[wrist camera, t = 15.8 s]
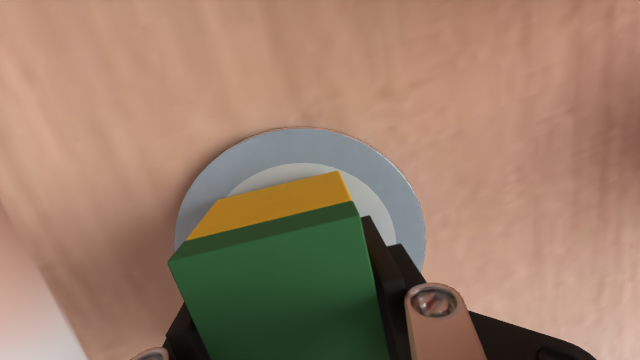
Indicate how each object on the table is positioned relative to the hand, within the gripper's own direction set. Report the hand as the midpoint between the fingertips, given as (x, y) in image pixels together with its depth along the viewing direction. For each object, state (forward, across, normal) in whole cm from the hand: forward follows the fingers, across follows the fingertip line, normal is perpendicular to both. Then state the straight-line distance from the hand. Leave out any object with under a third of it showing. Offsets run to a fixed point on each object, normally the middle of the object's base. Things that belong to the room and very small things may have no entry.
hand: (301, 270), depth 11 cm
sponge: (0, 0, 0) cm, 0 cm away
